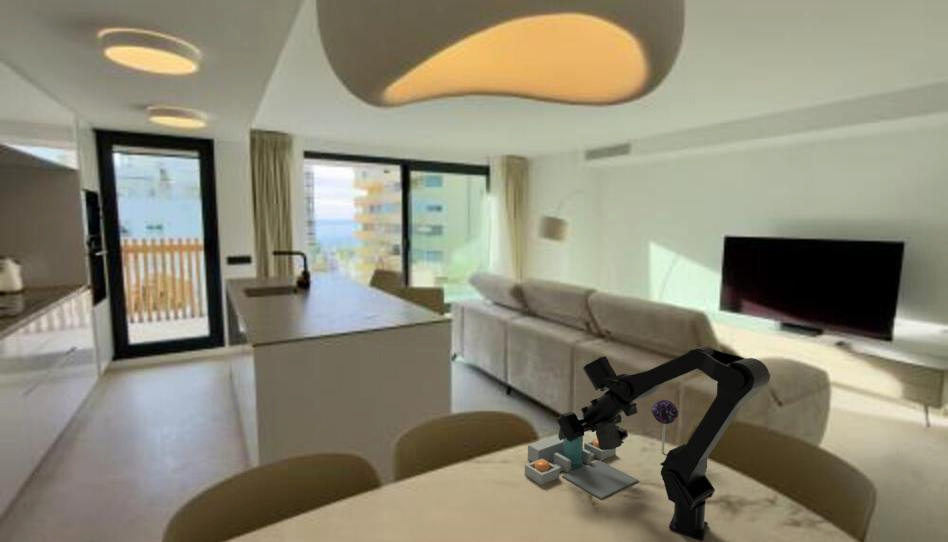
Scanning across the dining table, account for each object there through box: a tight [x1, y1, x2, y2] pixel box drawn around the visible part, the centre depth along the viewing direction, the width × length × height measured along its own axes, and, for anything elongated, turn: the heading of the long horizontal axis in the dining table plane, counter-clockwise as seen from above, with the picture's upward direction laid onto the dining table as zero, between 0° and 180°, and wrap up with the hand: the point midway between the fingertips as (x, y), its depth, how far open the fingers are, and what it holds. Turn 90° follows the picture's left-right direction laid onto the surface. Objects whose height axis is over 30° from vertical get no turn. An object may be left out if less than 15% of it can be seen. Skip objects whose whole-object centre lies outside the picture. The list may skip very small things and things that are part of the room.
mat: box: [561, 459, 639, 500], centre depth 115 cm, size 12×14×1 cm
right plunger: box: [593, 438, 600, 449], centre depth 129 cm, size 4×4×3 cm
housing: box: [524, 434, 617, 486], centre depth 124 cm, size 12×28×4 cm, turn 126°
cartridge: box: [562, 416, 584, 470], centre depth 122 cm, size 5×5×12 cm
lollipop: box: [651, 399, 679, 454], centre depth 129 cm, size 7×7×15 cm
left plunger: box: [535, 460, 550, 473], centre depth 116 cm, size 4×4×3 cm
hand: (571, 434), depth 122 cm, fingers open, 9 cm apart
